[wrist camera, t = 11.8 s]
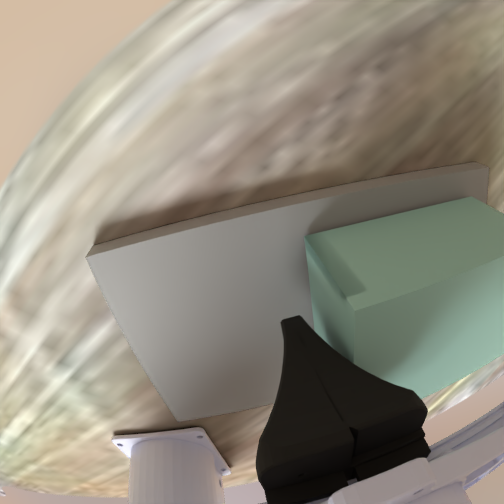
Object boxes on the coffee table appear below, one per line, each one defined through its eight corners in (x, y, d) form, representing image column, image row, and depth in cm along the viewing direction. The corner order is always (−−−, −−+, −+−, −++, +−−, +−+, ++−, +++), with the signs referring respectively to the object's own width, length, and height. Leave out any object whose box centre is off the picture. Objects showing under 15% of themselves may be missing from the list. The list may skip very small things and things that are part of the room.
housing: (456, 301, 18) (505, 352, 13) (316, 351, 17) (349, 427, 12) (471, 196, 14) (542, 238, 10) (303, 236, 14) (354, 310, 9)
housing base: (452, 326, 21) (478, 357, 18) (177, 408, 20) (178, 453, 17) (475, 161, 15) (521, 180, 12) (92, 245, 14) (66, 288, 11)
